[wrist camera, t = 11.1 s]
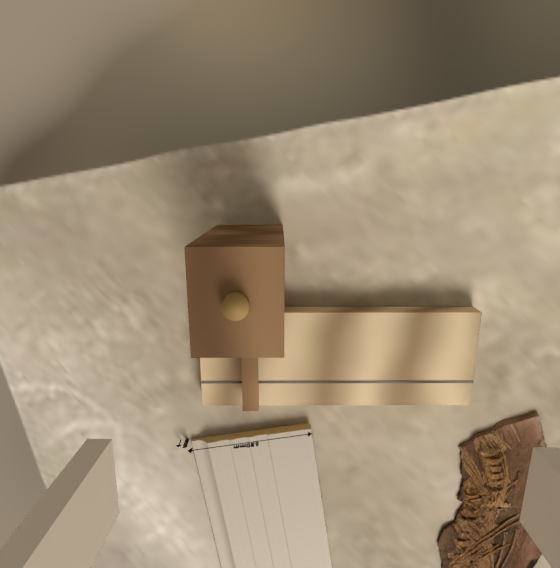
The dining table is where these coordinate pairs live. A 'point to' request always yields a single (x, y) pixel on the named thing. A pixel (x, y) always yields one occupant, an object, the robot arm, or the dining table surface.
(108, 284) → the dining table surface
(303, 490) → the baseboard molding
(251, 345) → the block
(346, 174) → the dining table surface
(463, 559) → the wooden fragment
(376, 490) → the dining table surface
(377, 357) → the board
